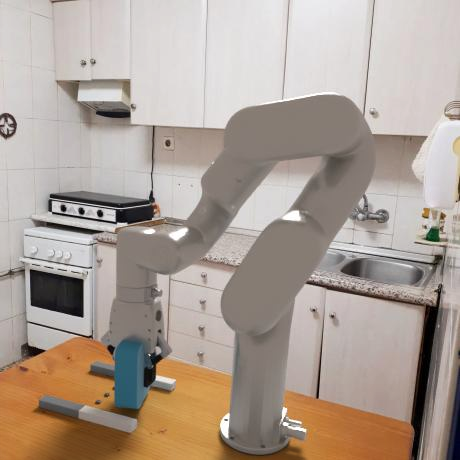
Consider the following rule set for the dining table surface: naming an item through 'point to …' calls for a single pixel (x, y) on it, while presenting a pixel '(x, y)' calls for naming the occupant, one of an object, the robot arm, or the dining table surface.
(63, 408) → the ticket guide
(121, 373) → the blue rounded box
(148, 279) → the robot arm
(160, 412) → the dining table surface
